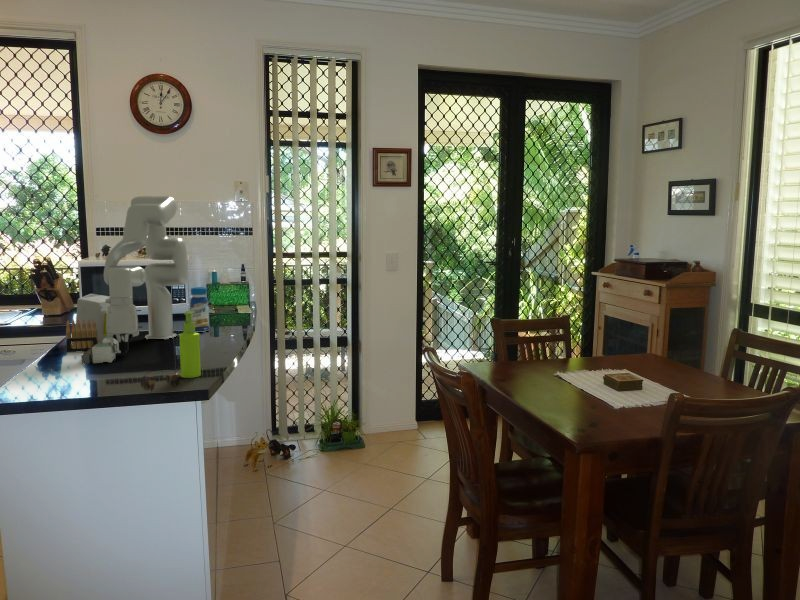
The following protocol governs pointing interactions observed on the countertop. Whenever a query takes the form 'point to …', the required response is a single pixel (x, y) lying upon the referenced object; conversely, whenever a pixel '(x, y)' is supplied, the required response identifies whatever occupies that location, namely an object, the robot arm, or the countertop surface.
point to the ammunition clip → (80, 336)
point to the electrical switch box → (93, 313)
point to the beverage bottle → (200, 308)
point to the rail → (101, 352)
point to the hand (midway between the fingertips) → (123, 352)
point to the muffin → (108, 340)
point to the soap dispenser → (189, 349)
